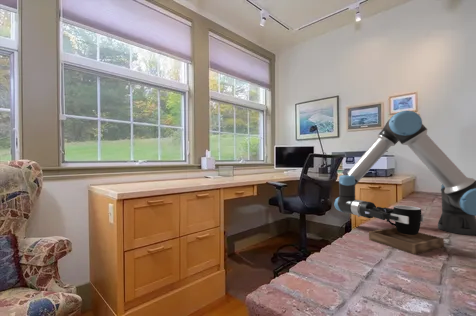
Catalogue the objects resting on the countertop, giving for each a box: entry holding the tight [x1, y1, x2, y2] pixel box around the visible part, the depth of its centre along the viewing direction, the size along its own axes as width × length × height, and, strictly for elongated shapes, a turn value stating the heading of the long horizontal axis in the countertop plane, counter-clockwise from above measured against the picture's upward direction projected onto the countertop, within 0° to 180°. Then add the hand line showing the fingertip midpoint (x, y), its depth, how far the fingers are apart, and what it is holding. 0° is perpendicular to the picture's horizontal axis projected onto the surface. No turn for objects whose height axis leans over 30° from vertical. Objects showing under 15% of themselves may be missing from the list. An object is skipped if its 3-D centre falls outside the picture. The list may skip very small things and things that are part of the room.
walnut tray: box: [368, 226, 445, 256], centre depth 94 cm, size 18×18×4 cm
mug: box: [387, 204, 422, 235], centre depth 94 cm, size 12×9×10 cm
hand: (415, 219), depth 90 cm, fingers closed on mug, 9 cm apart
